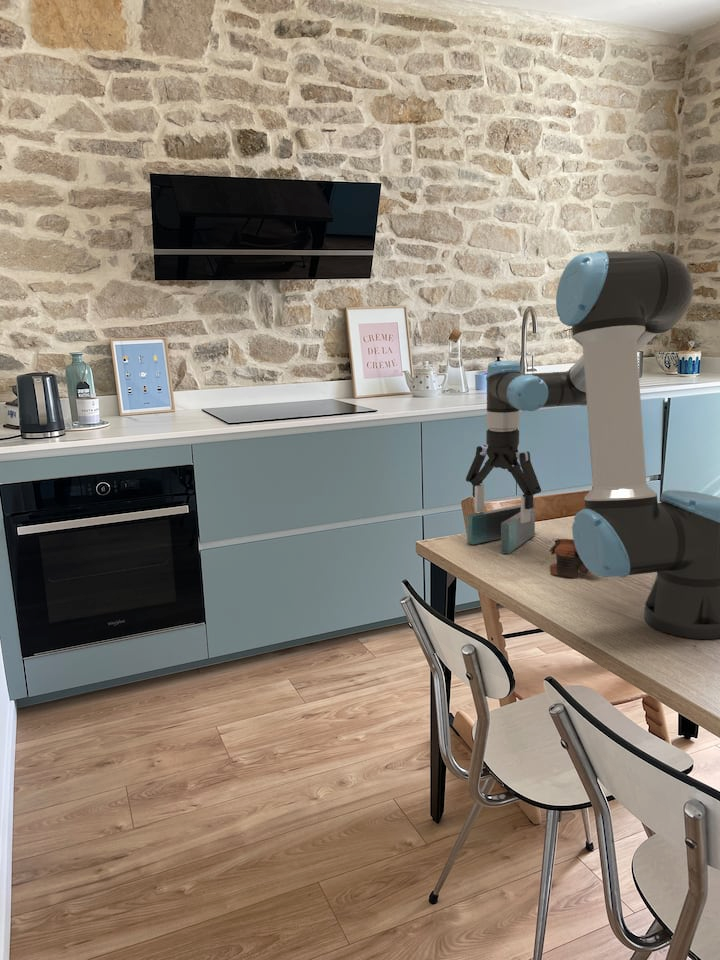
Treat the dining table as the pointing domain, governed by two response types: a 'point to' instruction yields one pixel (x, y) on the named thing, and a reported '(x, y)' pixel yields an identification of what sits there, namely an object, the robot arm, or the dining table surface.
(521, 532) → the right tong arm
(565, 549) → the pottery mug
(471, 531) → the left tong arm
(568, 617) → the dining table surface
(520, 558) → the dining table surface
